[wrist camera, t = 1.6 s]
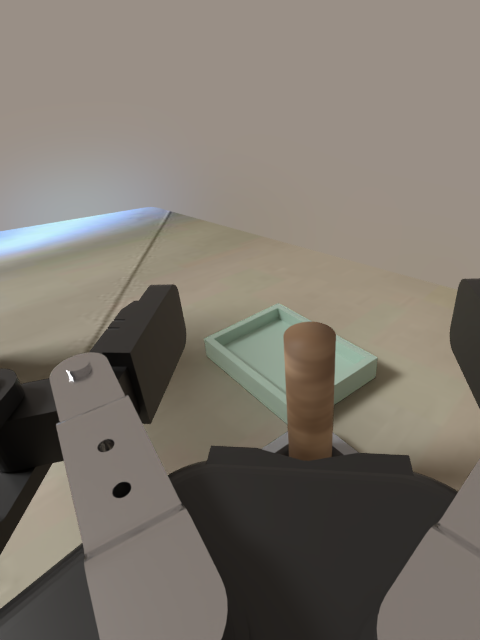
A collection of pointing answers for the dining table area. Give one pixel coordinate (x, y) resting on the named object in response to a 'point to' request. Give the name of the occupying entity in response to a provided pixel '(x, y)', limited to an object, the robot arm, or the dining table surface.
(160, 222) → the dining table surface
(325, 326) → the dowel
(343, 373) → the tray
